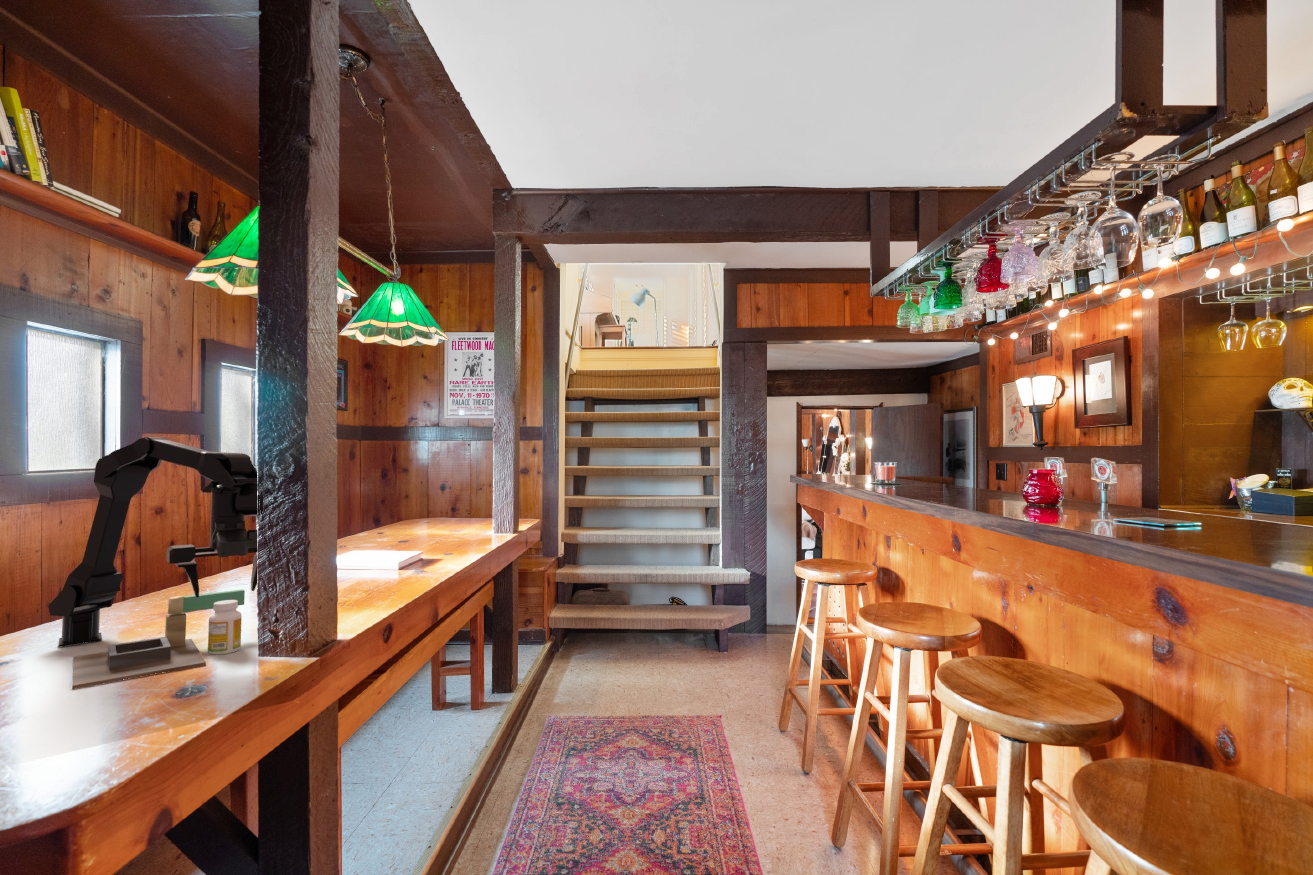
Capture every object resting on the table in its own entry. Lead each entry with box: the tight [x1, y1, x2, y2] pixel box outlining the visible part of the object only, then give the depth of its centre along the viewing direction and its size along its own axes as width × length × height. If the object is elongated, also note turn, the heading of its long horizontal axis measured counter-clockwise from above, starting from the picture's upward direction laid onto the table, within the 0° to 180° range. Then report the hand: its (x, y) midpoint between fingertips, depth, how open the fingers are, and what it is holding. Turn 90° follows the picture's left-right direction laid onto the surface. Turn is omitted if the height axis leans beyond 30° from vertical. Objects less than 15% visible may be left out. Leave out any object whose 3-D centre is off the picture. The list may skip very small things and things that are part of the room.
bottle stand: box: [72, 612, 206, 690], centre depth 116 cm, size 20×18×7 cm
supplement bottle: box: [207, 600, 242, 656], centre depth 124 cm, size 5×5×10 cm
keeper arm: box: [167, 588, 246, 614], centre depth 129 cm, size 13×3×3 cm, turn 133°
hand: (225, 593), depth 124 cm, fingers open, 9 cm apart
